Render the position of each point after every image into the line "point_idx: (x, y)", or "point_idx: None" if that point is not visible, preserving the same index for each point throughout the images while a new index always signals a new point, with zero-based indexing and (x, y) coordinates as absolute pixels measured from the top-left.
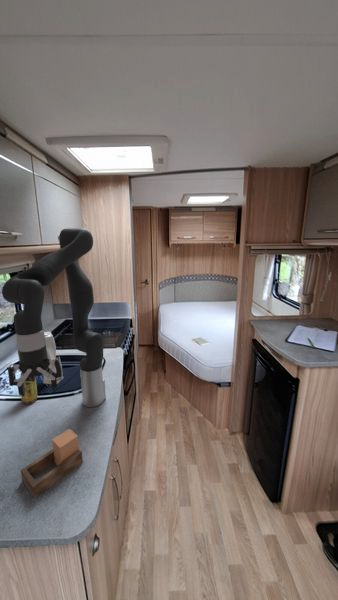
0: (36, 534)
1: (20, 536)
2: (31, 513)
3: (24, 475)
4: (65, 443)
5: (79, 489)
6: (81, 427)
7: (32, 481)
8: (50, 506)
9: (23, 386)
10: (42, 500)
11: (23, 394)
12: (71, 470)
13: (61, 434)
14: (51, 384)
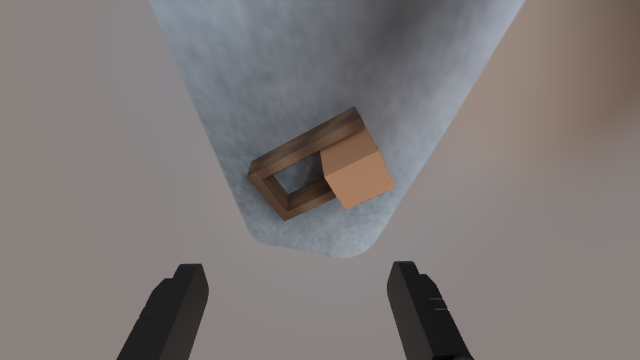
0: (295, 248)
1: (274, 245)
2: (283, 223)
3: (260, 192)
4: (359, 201)
5: (360, 210)
6: (404, 22)
7: (280, 210)
8: (312, 222)
9: (177, 358)
10: None
11: (200, 311)
12: None
13: (352, 166)
14: (403, 346)
